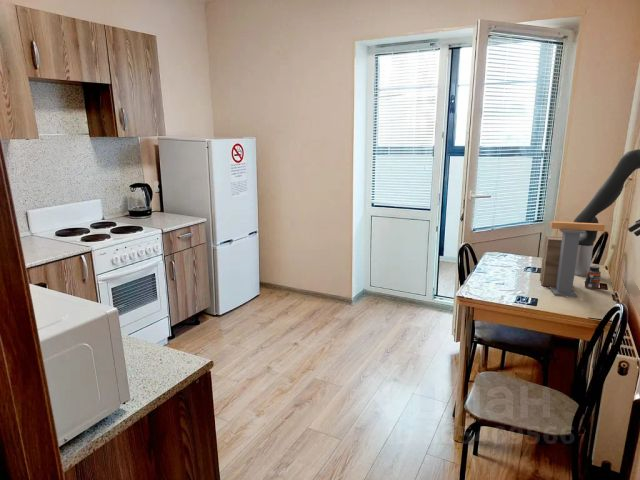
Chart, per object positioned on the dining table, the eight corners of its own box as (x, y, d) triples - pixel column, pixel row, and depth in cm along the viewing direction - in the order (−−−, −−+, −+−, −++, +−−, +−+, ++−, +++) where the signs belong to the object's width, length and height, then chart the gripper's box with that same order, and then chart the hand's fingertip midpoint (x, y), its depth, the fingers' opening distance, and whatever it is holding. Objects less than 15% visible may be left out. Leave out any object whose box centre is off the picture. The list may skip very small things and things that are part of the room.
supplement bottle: (591, 290, 215) (594, 268, 212) (581, 286, 220) (584, 265, 218) (601, 289, 216) (604, 267, 214) (591, 285, 222) (594, 264, 219)
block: (550, 227, 208) (550, 221, 208) (602, 229, 201) (603, 223, 201) (551, 228, 205) (552, 222, 205) (603, 231, 199) (604, 224, 198)
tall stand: (550, 288, 218) (557, 226, 210) (572, 290, 215) (581, 227, 207) (554, 295, 209) (562, 230, 201) (577, 297, 205) (586, 231, 198)
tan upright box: (539, 280, 231) (545, 235, 225) (564, 282, 227) (570, 236, 221) (542, 286, 221) (548, 239, 216) (568, 288, 218) (575, 240, 212)
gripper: (656, 202, 196) (621, 223, 203) (669, 207, 183) (631, 229, 190) (667, 215, 196) (632, 235, 203) (680, 220, 183) (642, 242, 190)
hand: (631, 232), depth 196 cm, fingers open, 8 cm apart
